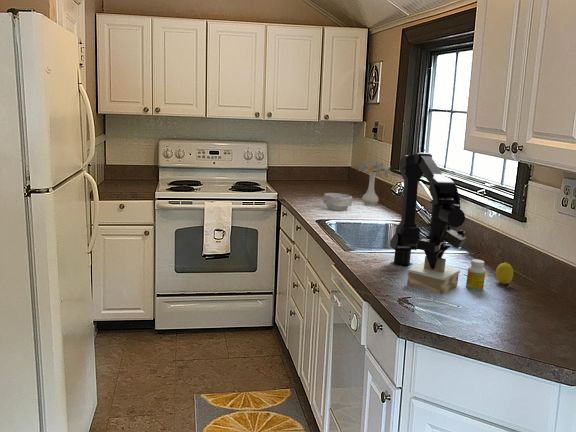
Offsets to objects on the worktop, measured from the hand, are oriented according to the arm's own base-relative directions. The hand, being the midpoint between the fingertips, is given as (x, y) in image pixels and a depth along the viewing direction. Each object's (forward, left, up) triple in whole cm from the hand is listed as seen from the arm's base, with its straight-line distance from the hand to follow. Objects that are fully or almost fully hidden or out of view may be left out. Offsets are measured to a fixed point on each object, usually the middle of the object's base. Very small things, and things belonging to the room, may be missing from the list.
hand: (434, 267), depth 191 cm
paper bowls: (-89, -94, -7) cm, 130 cm away
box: (0, 0, -6) cm, 6 cm away
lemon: (-21, +16, -7) cm, 27 cm away
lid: (0, 0, -1) cm, 1 cm away
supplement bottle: (-8, +11, -7) cm, 15 cm away
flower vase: (-118, -90, -7) cm, 149 cm away
